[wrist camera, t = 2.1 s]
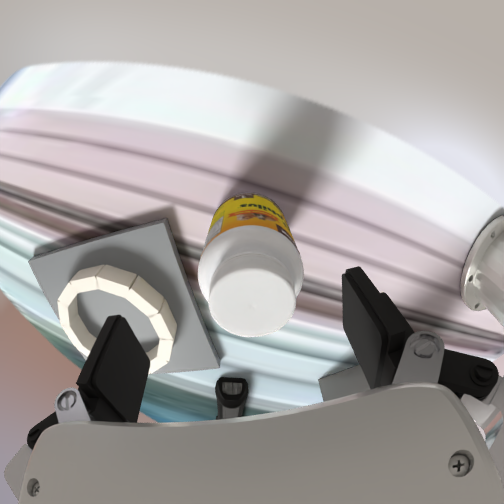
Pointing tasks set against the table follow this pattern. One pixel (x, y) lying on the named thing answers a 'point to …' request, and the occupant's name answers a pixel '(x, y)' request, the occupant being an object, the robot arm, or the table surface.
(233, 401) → the electric trimmer
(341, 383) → the perfume bottle
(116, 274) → the collar
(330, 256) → the table surface
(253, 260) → the supplement bottle
